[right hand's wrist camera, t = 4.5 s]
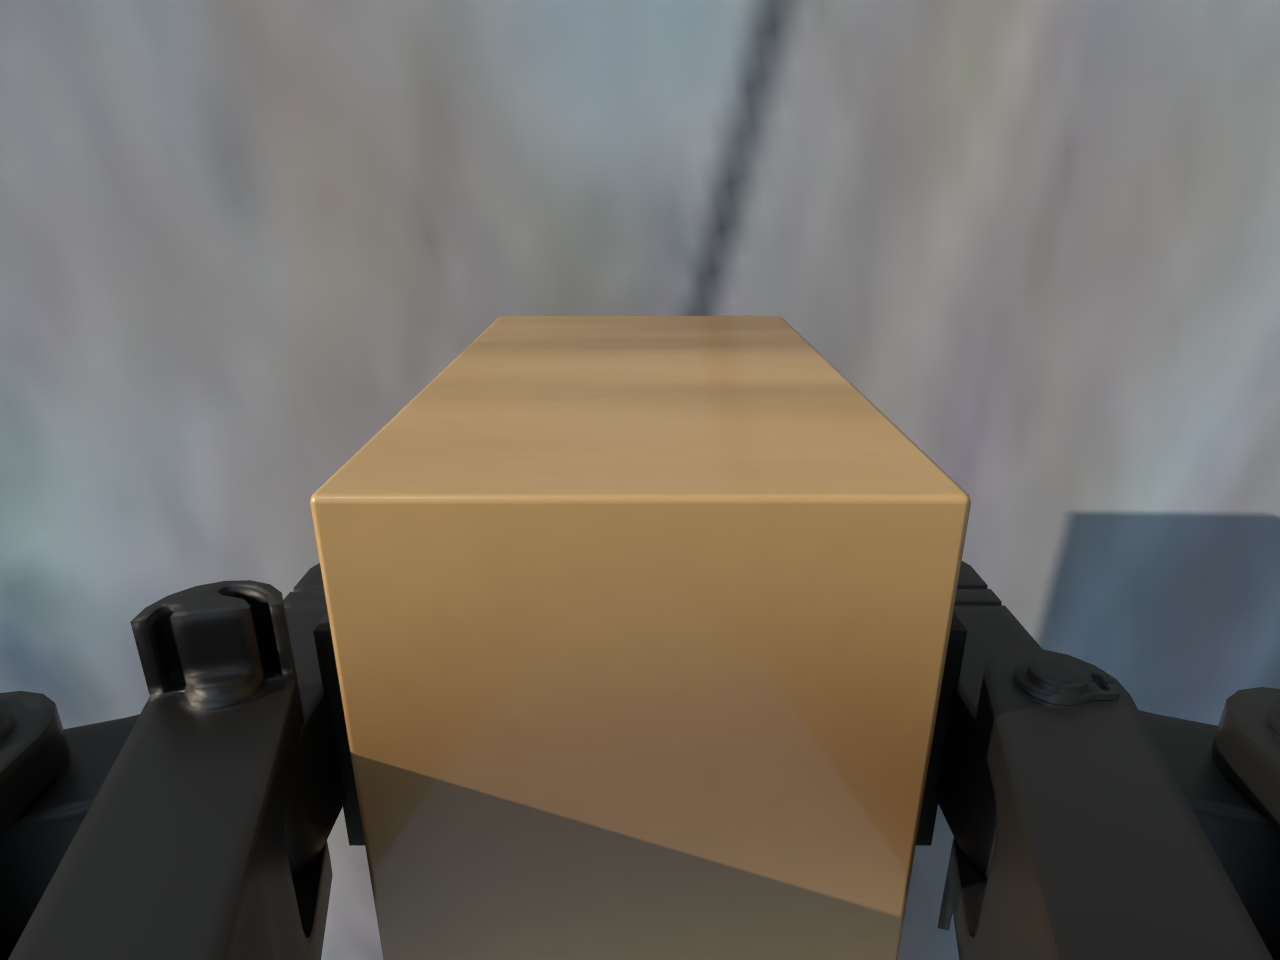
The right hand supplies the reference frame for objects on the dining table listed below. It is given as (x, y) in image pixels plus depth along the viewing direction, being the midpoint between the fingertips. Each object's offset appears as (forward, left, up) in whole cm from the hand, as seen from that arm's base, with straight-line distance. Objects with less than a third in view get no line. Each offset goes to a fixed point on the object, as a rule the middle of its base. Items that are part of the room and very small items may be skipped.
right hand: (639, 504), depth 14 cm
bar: (+2, +8, -1) cm, 8 cm away
